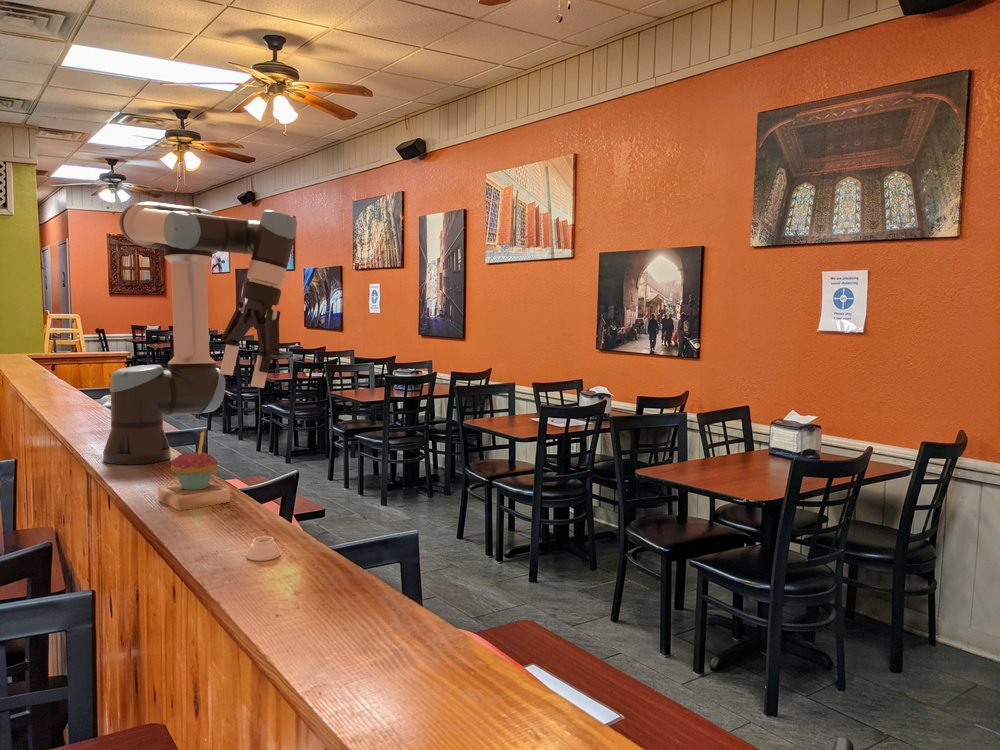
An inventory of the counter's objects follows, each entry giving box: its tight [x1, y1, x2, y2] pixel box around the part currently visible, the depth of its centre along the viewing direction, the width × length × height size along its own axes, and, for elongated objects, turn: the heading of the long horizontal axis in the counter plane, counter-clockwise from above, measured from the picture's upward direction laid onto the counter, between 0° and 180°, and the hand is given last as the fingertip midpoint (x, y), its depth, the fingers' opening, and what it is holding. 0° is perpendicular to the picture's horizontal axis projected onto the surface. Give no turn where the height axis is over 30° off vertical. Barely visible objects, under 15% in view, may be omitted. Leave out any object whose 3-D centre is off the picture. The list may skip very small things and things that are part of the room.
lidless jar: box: [245, 535, 281, 562], centre depth 113 cm, size 5×3×5 cm
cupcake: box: [170, 428, 219, 490], centre depth 144 cm, size 9×8×12 cm
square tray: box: [157, 481, 231, 512], centre depth 144 cm, size 10×10×3 cm
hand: (241, 380), depth 155 cm, fingers open, 13 cm apart
